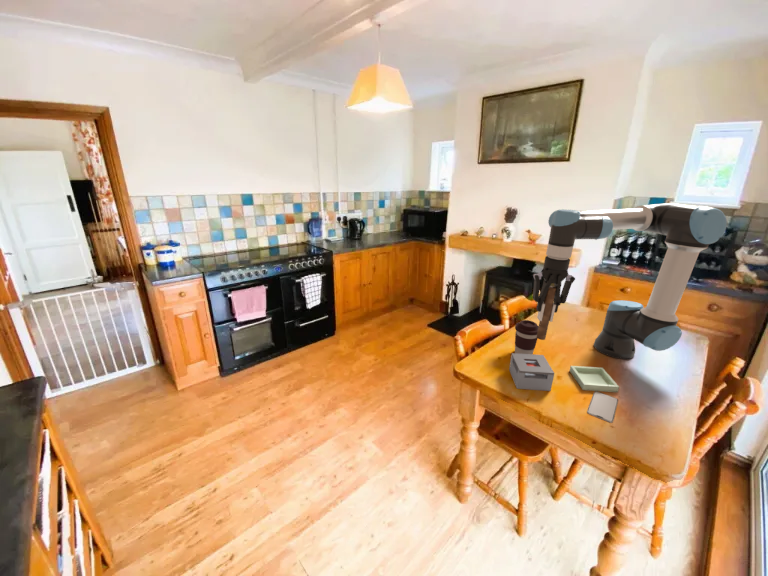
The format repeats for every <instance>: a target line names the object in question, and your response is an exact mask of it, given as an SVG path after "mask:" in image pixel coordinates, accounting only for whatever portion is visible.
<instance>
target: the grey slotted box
mask: <svg viewBox="0 0 768 576" xmlns="http://www.w3.org/2000/svg"><path fill="white" fill-rule="evenodd" d="M509 362H510V363H509V367H508V368H509V369H508V370H509V373H510V375H511V377H512V378H511V379H512V380H513V382H514V385H515V387H516V389H519V390H531V391H546V392H547V391H548V392H551V390H552V387H553V382H554V377H555V372H554V370H553V369H552V366H551V365H550V364H549V362H548V361H547V358H546V357H545V355H544V354H517V353H515V352H514V353H513V352H511V356H510V361H509ZM526 363H533V364H535V365H536V366H527V364H526Z"/></svg>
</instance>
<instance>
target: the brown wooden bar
mask: <svg viewBox="0 0 768 576" xmlns="http://www.w3.org/2000/svg"><path fill="white" fill-rule="evenodd" d="M555 292H556V288H555V287H554V285H550V287H549V289H548V291H547V294H546V297H545V299H544V304H545V308H544V312H543V317H542V321H539V322H538V326H539V327H538V332H537V340H542V341H545V340H546V338H547V333H548V330H549V329H548V328H549V325H550V324H549V323H550V321H549V320H550V315H551V310H552V306H553V302H554V297H555Z"/></svg>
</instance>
